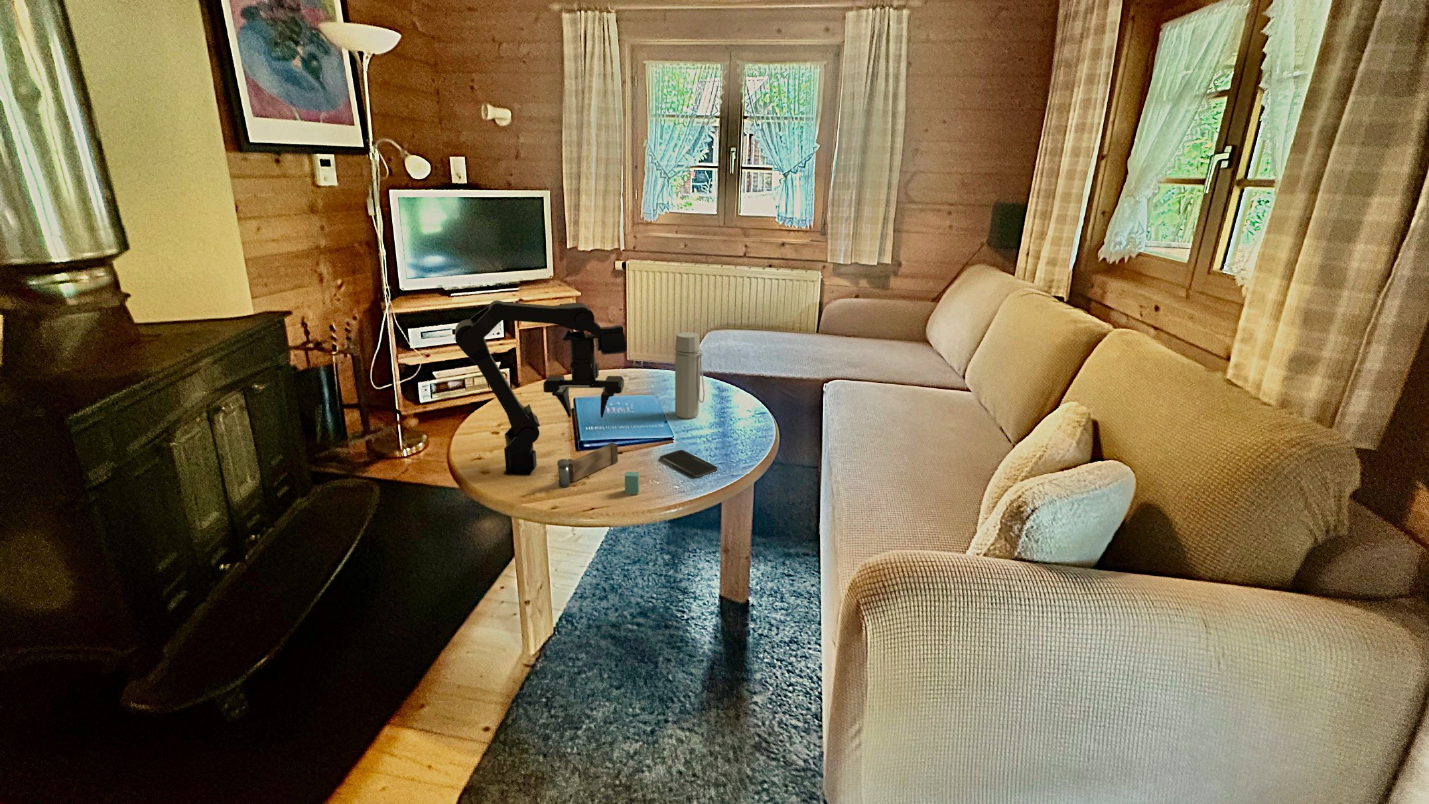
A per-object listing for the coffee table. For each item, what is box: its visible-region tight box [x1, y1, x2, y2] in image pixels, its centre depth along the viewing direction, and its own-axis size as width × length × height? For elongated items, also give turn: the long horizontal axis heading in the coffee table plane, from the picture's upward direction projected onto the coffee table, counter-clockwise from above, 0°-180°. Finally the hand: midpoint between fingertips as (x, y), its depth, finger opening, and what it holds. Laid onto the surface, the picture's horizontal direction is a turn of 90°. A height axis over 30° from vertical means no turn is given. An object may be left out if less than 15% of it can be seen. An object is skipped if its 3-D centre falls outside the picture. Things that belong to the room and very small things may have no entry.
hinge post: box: [557, 466, 571, 489], centre depth 158 cm, size 2×2×5 cm
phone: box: [659, 449, 718, 479], centre depth 171 cm, size 8×1×15 cm
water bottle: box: [674, 331, 706, 420], centre depth 200 cm, size 9×8×25 cm
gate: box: [557, 442, 619, 483], centre depth 164 cm, size 18×3×6 cm, turn 145°
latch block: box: [624, 471, 640, 495], centre depth 156 cm, size 3×2×5 cm
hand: (586, 417), depth 168 cm, fingers open, 8 cm apart
